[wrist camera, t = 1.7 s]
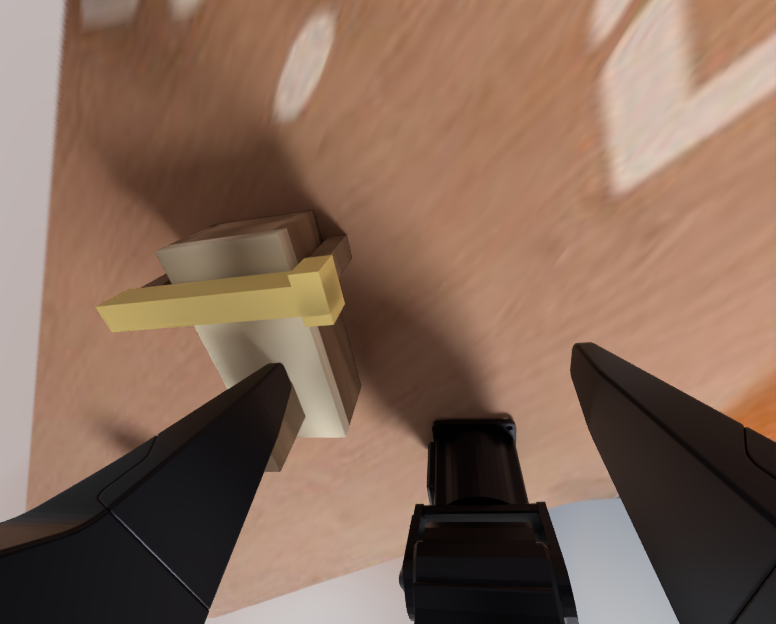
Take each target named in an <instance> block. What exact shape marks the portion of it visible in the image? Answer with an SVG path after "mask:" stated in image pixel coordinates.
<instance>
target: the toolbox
mask: <svg viewBox="0 0 776 624" xmlns="http://www.w3.org/2000/svg"><path fill="white" fill-rule="evenodd" d="M286 228H287V231H288V234H289V237H290V241H291V244H292V247H293V250H294V253H295V256H296V259H297V263H298V264H299V263H300V262H301V261H302V260H303V259H304V258H310V257H318V256H327V255H332V256H333V260H334V264H335V268H336V272H337V275H338V278H339V277H340V275H341V274H342V272H343V271H344V269H345V268H346V266H347V265H348V263H349V262H350V260H351V259H352V255H351V251H350V247H349V242H348V238H347V235H341V236H333V237H328V238H327V239H326V240H325V241H324V242H323V243H322V240H321V236H320V233H319V229H318V225H317V222H316V218H315V214H314V211H313V210H310V211H303V212H297V213H290V214H283V215H277V216H270V217H264V218H257V219H251V220H244V221H238V222H231V223H224V224H218V225H212V226H210V227H208V228H206V229H203V230H201V231H199V232H197V233H194V234H192V235H190V236H188V237H186V238H183V239H181V240H179V241H177V242H175V243H172V244H170V245H174V244H181V243H188V242H195V241H202V240H209V239H216V238H223V237H230V236H237V235H244V234H251V233H258V232H265V231H272V230H279V229H286ZM171 284H172V283H171V281H170V279H169V277H168V275H167V274H165V275H163V276H161V277H159V278H157V279H156V280H154V281H152V282H150V283H148V284H146V285H145V286H143V287H141V288H144V287H153V286H162V285H171ZM318 329H319V332H320V335H321V338H322V341H323V344H324V347H325V351H326V354H327V357H328V360H329V363H330V366H331V369H332V373H333V376H334V379H335V382H336V385H337V388H338V391H339V395H340V398H341V401H342V404H343V407H344V410H345V413H346V417H347V420H348V423H349V425H350V422H351V419H352V415H353V412H354V409H355V405H356V402H357V399H358V395H359V392H360V389H361V383H360V380H359V376H358V372H357V369H356V365H355V361H354V358H353V354H352V350H351V347H350V343H349V339H348V336H347V332H346V328H345V325H344V321H343V317H342V313H341V312H340V314H339V316H338V318H337V320H336V322H335V324H334V325H325V326H318Z"/></svg>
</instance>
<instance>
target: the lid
mask: <svg viewBox="0 0 776 624" xmlns="http://www.w3.org/2000/svg"><path fill="white" fill-rule="evenodd" d="M155 253H156V255H157V256H158V258H159V260H160V262H161V264H162V266H163V268H164V270H165V272H166V274H167V275H168V277H169V279H170V281H171V283H172V284H180V283H188V282H197V281H206V280H215V279H224V278H232V277H241V276H250V275H259V274H268V273H276V272H285V271H292V270H293V269H294V268H295V267H296V266H297V265H298V263H297V259H296V256H295V253H294V250H293V247H292V244H291V241H290V237H289V234H288V231H287V228H286V229H279V230H272V231H265V232H258V233H251V234H244V235H237V236H230V237H223V238H216V239H209V240H202V241H195V242H188V243H181V244H174V245H168V246H166V247H164V248H161V249H159V250H157V251H155ZM194 327H195V328H196V330H197V332H198V334H199V336H200V338H201V340H202V342H203V344H204V346H205V347H206V349H207V351H208V353H209V355H210V357H211V359H212V361H213V363H214V364H215V366H216V368H217V370H218V372H219V374H220V376H221V378H222V380H223V382H224V383H225V385H226V387H227V389H229V388H231V387H232V386H234V385H235V384H237V383H238V382H240V381H241V380H243V379H245V378H246V377H248V376H249V375H251V374H252V373H254V372H255V371H257V370H259V369H260V368H262V367H263V366H265V365H266V364H268V363H277V362H280V363H282V364H283V365H284V367H285V369H286V371H287V374H288V376H289V379H290V381H291V385H292V389H291V393H290V397H289V401H288V404H287V408H286V411H285V415H284V418H283V422H282V425H281V429H280V432H279V435H278V438H277V441H276V443H275V446H274V448H273V451H272V453H271V456H270V458H269V461H268V463H267V466H266V468H265V471H264V472H280V471H281V469H282V467H283V465H284V463H285V461H286V458H287V456H288V454H289V452H290V450H291V448H292V445H293V443H294V441H295V439H296V437H346V435H347V432H348V429H349V423H348V420H347V417H346V413H345V410H344V407H343V404H342V401H341V398H340V395H339V391H338V388H337V385H336V382H335V379H334V376H333V373H332V369H331V366H330V363H329V360H328V357H327V354H326V351H325V347H324V344H323V341H322V338H321V335H320V332H319V329H318V326H312V327H305V325H304V322H303V319H302V317H292V318H280V319H268V320H256V321H244V322H231V323H219V324H207V325H195V326H194Z"/></svg>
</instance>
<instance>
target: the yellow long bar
mask: <svg viewBox="0 0 776 624" xmlns="http://www.w3.org/2000/svg"><path fill="white" fill-rule="evenodd" d="M344 305H345V302H344V298H343V295H342V291H341V287H340V283H339V279H338V275H337V272H336V268H335V264H334V260H333V256H332V255H327V256H318V257H310V258H304V259H303V260H302V261H301V262H300V263H299V264H298V265H297V266H296V267H295V268H294V269H293V270H292V271H285V272H276V273H268V274H259V275H250V276H241V277H232V278H224V279H215V280H206V281H197V282H188V283H180V284H171V285H162V286H153V287H144V288H136V289H128V290H126V291H124V292H122V293H120V294H119V295H117V296H115V297H113V298H111V299H109V300H107V301H105V302H104V303H102V304H100V305H98V306H96V309H97V310H98V312H99V313H100V315H101V316H102V318H103V319H104V321H105V322H106V324H107V325H108V327H109V328H110V330H111V331H112V332H122V331H134V330H146V329H159V328H171V327H183V326H195V325H207V324H219V323H231V322H244V321H256V320H268V319H280V318H292V317H302V319H303V322H304V325H305V327H312V326H325V325H334V324H335V322H336V320H337V318H338V316H339V314H340V312H341V310H342V308H343V307H344Z"/></svg>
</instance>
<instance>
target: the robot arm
mask: <svg viewBox="0 0 776 624" xmlns="http://www.w3.org/2000/svg"><path fill="white" fill-rule="evenodd" d="M570 373H571V378H572V381H573V384H574V387H575V390H576V393H577V396H578V399H579V402H580V405H581V408H582V411H583V414H584V417H585V420H586V423H587V426H588V429H589V431H590V434H591V436H592V438H593V441H594V443H595V445H596V447H597V449H598V451H599V453H600V455H601V458H602V460H603V462H604V464H605V466H606V468H607V470H608V472H609V475H610V477H611V479H612V481H613V483H614V485H615V487H616V489H617V492H618V494H619V496H620V498H621V500H622V502H623V504H624V506H625V509H626V511H627V513H628V515H629V517H630V519H631V521H632V523H633V526H634V528H635V530H636V532H637V534H638V536H639V538H640V540H641V542H642V545H643V547H644V549H645V551H646V553H647V555H648V557H649V560H650V562H651V564H652V566H653V568H654V570H655V572H656V574H657V577H658V579H659V581H660V583H661V585H662V587H663V589H664V591H665V594H666V596H667V598H668V600H669V602H670V604H671V606H672V608H673V611H674V613H675V615H676V617H677V619H678V621H679V623H680V624H776V442H774V441H772V440H771V439H769V438H767V437H765V436H763V435H761V434H759V433H758V432H756V431H754V430H752V429H750V428H748V427H745V428H744V426H743V424H741V423H739V422H737V421H735V420H734V419H732V418H730V417H728V416H726V415H724V414H723V413H721V412H719V411H717V410H715V409H713V408H712V407H710V406H708V405H706V404H704V403H702V402H701V401H699V400H697V399H695V398H693V397H691V396H690V395H688V394H686V393H684V392H682V391H680V390H679V389H677V388H675V387H673V386H671V385H669V384H668V383H666V382H664V381H662V380H660V379H658V378H657V377H655V376H653V375H651V374H649V373H647V372H646V371H644V370H642V369H640V368H638V367H636V366H635V365H633V364H631V363H629V362H627V361H625V360H624V359H622V358H620V357H618V356H616V355H614V354H613V353H611V352H609V351H607V350H605V349H603V348H602V347H600V346H598V345H596V344H594V343H592V342H586V343H575V344H574V345H573V348H572V356H571V366H570ZM291 389H292V385H291V381H290V379H289V376H288V374H287V371H286V369H285V367H284V365H283V364H282V363H280V362H277V363H268V364H266V365H265V366H263V367H262V368H260V369H259V370H257V371H255V372H254V373H252V374H251V375H249V376H248V377H246V378H245V379H243V380H241V381H240V382H238V383H237V384H235V385H234V386H232V387H231V388H229V389H227V390H226V391H224V392H223V393H221V394H220V395H218V396H217V397H215V398H213V399H212V400H210V401H209V402H207V403H206V404H204V405H203V406H201V407H199V408H198V409H196V410H195V411H193V412H192V413H190V414H189V415H187V416H185V417H184V418H182V419H181V420H179V421H178V422H176V423H174V424H173V425H171V426H170V427H168V428H167V429H165V430H164V431H162V432H160V433H159V434H158V436H154V437H153V438H151V439H149V440H148V441H146V442H145V443H143V444H142V445H140V446H139V447H137V448H135V449H134V450H132V451H131V452H129V453H127V454H126V455H124V456H123V457H121V458H119V459H118V460H116V461H114V462H113V463H111V464H109V465H108V466H106V467H104V468H102V469H101V470H99V471H97V472H96V473H94V474H92V475H91V476H89V477H87V478H85V479H84V480H82V481H80V482H79V483H77V484H75V485H73V486H72V487H70V488H68V489H67V490H65V491H63V492H61V493H60V494H58V495H56V496H55V497H53V498H51V499H49V500H48V501H46V502H44V503H43V504H41V505H39V506H37V507H35V508H34V509H32V510H30V511H28V512H26V513H24V514H22V515H19V516H17V517H15V518H12V519H10V520H7V521H4V522H1V523H0V624H204V623H205V621H206V618H207V616H208V613H209V610H208V609H210V607H211V605H212V602H213V600H214V597H215V595H216V592H217V590H218V587H219V585H220V582H221V580H222V577H223V575H224V572H225V570H226V567H227V564H228V562H229V559H230V557H231V554H232V552H233V549H234V547H235V544H236V542H237V539H238V537H239V534H240V532H241V529H242V527H243V524H244V522H245V519H246V516H247V514H248V511H249V509H250V506H251V504H252V501H253V499H254V496H255V494H256V491H257V489H258V486H259V484H260V481H261V479H262V476H263V474H264V471H265V468H266V466H267V463H268V461H269V458H270V456H271V453H272V451H273V448H274V446H275V443H276V441H277V438H278V435H279V432H280V429H281V425H282V422H283V418H284V415H285V411H286V408H287V404H288V401H289V397H290V393H291ZM438 426H439V427H438ZM432 430H433V437H434V442H430V443H429V444H428V468H427V491H428V497H429V502H430V505H424V504H416V505H415V510H414V515H412V519H411V524H410V529H409V535H408V540H407V545H406V550H405V555H404V561H403V566H402V569H401V571H400V575H399V584H400V586H401V588H402V589H403V591H404V592H405V601H406V608H407V613H408V616H409V618H410V620H411V621H414V624H579V623H578V617H577V611H576V606H575V601H574V597H573V592H572V588H571V584H570V580H569V576H568V572H567V569H566V565H565V562H564V558H563V555H562V552H561V549H560V546H559V543H558V540H557V537H556V534H555V531H554V528H553V525H552V522H551V519H550V516H549V513H548V510H547V507H546V503H545V502H536V503H531V504H529V502H528V498H527V493H526V489H525V484H524V480H523V476H522V471H521V467H520V463H519V458H518V454H517V450H516V425H515V422H514V421H512V420H437V421H434V422H433V424H432Z"/></svg>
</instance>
